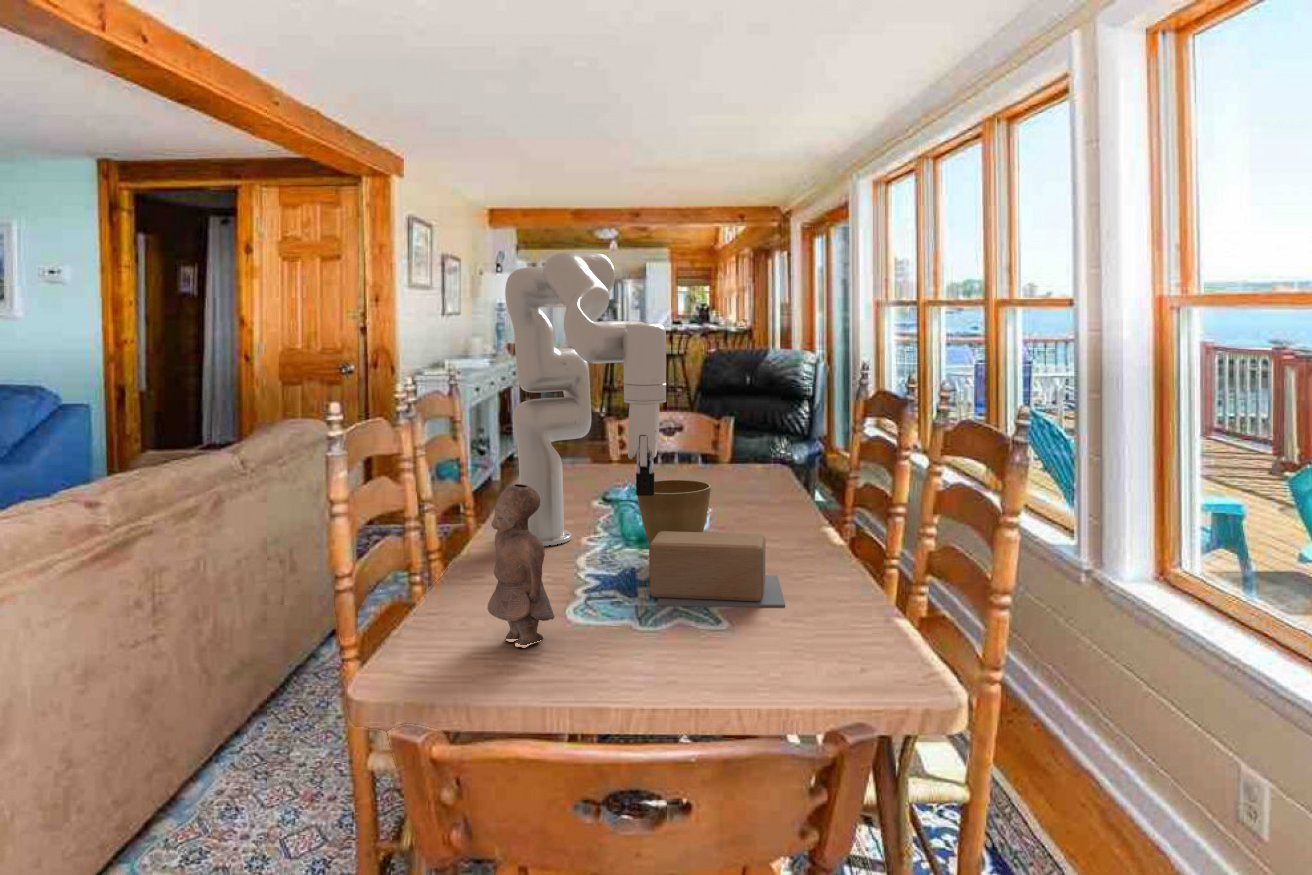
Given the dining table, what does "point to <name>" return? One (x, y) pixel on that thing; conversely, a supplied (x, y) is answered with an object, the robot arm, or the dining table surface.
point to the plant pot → (675, 507)
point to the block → (707, 566)
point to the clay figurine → (519, 566)
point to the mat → (769, 599)
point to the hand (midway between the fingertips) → (645, 494)
